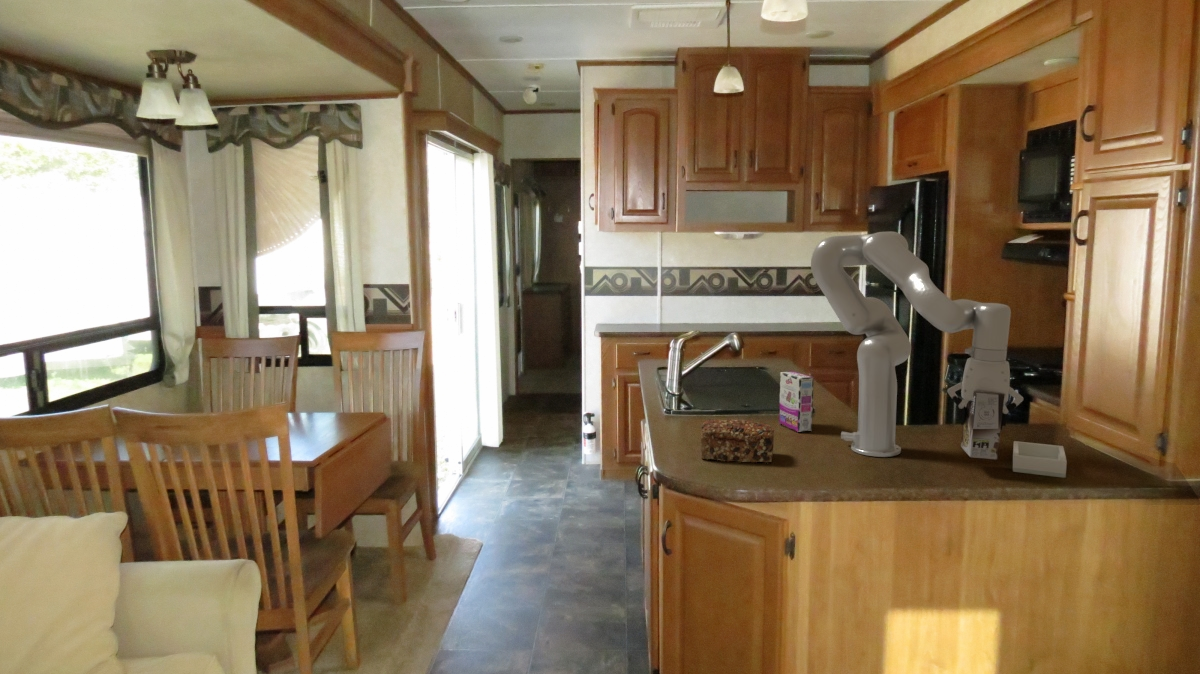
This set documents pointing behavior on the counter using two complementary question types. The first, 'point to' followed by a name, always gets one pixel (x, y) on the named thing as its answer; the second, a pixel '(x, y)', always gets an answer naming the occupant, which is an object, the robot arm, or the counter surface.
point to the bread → (737, 440)
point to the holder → (1039, 459)
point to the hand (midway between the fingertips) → (981, 425)
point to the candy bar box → (796, 401)
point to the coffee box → (983, 425)
